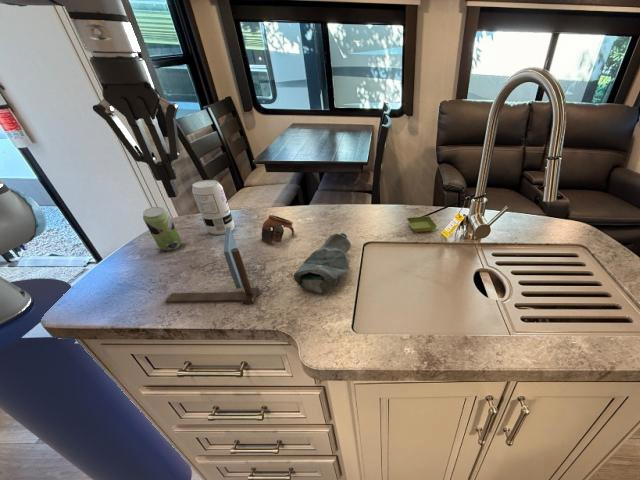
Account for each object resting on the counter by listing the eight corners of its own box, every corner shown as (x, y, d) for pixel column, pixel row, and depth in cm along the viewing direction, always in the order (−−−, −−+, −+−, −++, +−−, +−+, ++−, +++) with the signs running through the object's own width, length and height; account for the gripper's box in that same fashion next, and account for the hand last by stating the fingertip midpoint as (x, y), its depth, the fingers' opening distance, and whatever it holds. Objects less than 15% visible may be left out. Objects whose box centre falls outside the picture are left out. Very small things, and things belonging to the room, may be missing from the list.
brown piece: (258, 237, 102) (264, 212, 100) (288, 245, 107) (294, 221, 105) (260, 244, 92) (267, 216, 90) (293, 252, 97) (301, 226, 95)
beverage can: (181, 240, 98) (164, 202, 91) (186, 250, 94) (168, 211, 86) (157, 246, 95) (138, 207, 88) (161, 256, 91) (141, 216, 83)
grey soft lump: (337, 299, 77) (367, 248, 96) (332, 275, 72) (364, 226, 91) (288, 295, 79) (326, 246, 98) (279, 271, 75) (322, 224, 94)
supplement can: (203, 230, 104) (185, 183, 95) (227, 222, 109) (213, 177, 100) (215, 238, 100) (197, 190, 91) (240, 229, 105) (225, 183, 96)
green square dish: (437, 232, 107) (437, 226, 106) (412, 234, 105) (412, 228, 104) (429, 221, 114) (429, 215, 113) (405, 223, 112) (405, 217, 111)
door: (233, 262, 85) (221, 228, 79) (241, 261, 86) (230, 226, 80) (232, 289, 76) (218, 252, 70) (241, 288, 76) (228, 251, 70)
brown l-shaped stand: (164, 305, 74) (136, 256, 66) (174, 292, 78) (150, 245, 70) (253, 303, 75) (237, 255, 67) (259, 291, 79) (245, 244, 71)
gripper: (56, 54, 49) (132, 204, 63) (154, 57, 52) (205, 198, 67) (77, 54, 54) (143, 191, 69) (165, 55, 58) (209, 186, 72)
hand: (173, 195), depth 68 cm, fingers closed
